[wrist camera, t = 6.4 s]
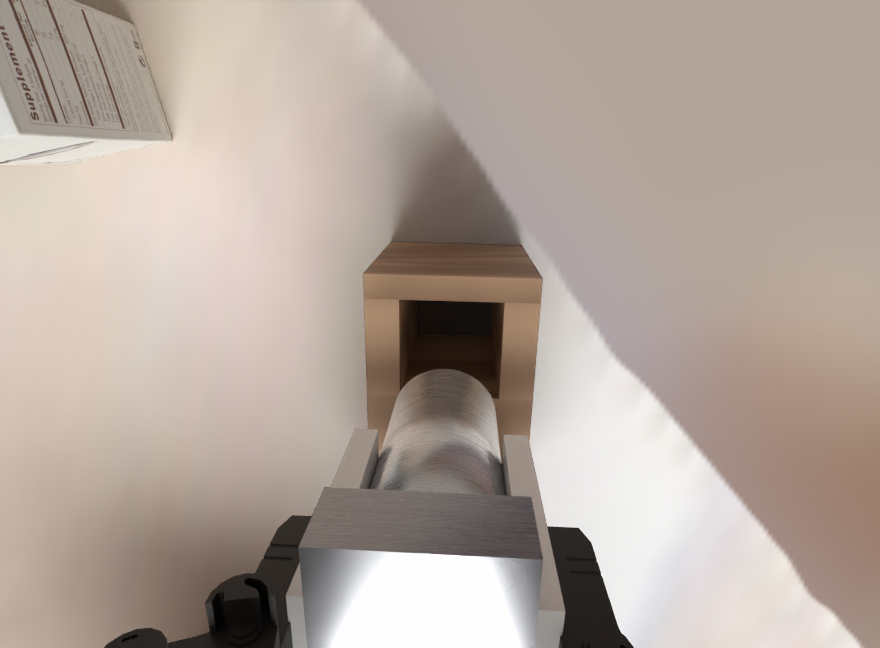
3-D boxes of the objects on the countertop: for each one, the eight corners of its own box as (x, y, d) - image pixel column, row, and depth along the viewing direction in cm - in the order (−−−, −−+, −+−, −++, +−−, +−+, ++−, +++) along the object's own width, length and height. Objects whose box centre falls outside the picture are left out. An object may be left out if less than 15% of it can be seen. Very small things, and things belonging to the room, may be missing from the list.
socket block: (390, 241, 35) (363, 273, 26) (521, 245, 35) (542, 278, 25) (394, 476, 41) (372, 572, 32) (505, 481, 41) (517, 579, 31)
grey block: (392, 329, 19) (298, 546, 8) (500, 333, 19) (542, 559, 8) (394, 489, 21) (322, 820, 11) (491, 493, 21) (515, 835, 10)
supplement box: (77, 166, 34) (-129, 171, 23) (31, 46, 32) (-225, -19, 20) (178, 145, 34) (20, 139, 22) (138, 20, 32) (-63, -62, 20)
